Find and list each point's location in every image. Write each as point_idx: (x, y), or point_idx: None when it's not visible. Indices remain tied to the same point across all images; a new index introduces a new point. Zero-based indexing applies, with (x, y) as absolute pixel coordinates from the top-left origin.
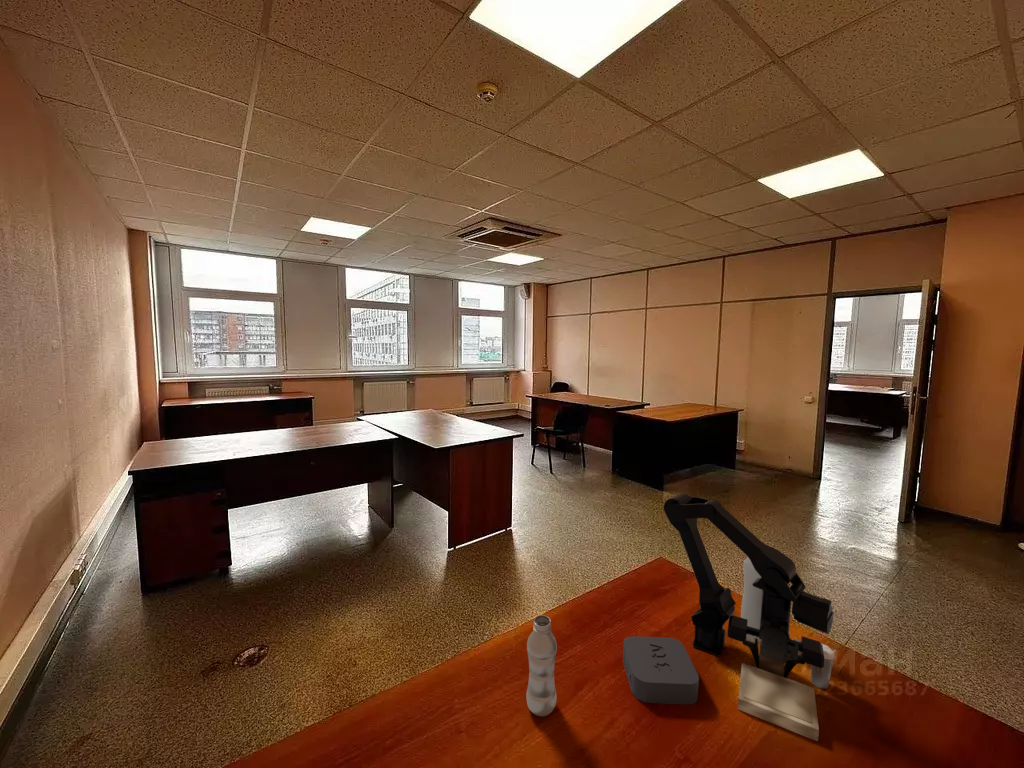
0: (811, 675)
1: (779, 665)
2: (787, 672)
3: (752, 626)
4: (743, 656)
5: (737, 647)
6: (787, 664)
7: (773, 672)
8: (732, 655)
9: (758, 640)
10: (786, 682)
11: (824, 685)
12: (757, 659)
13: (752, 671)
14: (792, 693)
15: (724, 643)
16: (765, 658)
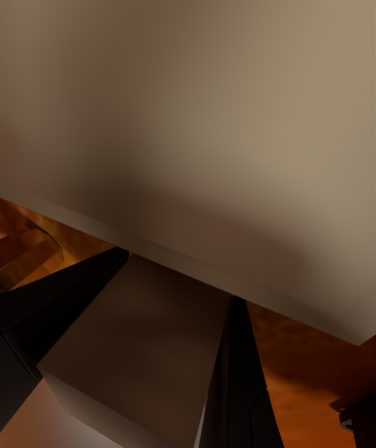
0: (40, 266)
1: (114, 308)
2: (81, 268)
3: (197, 442)
4: (272, 351)
5: (279, 381)
6: (25, 315)
7: (165, 277)
8: (329, 363)
9: None
10: (90, 201)
11: (15, 233)
12: (236, 362)
13: (314, 274)
14: (41, 86)
15: (352, 420)
16: (177, 357)
